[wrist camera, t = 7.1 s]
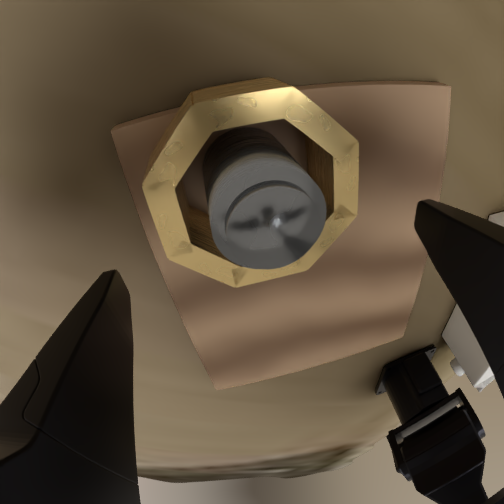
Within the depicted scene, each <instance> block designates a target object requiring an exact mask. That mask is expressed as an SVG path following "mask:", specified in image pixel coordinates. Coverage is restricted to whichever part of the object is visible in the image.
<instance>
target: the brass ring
mask: <svg viewBox="0 0 504 504" xmlns="http://www.w3.org/2000/svg"><path fill="white" fill-rule="evenodd" d="M278 119H286V120H287V121H288V122H290V123H291V124H292V125H294V126H295V127H296V128H298V129H299V130H300V131H302V132H303V133H304V134H305V146H306V159H307V173H308V175H309V176H310V177H311V178H312V179H313V181H314V182H315V183H316V184H317V185H318V187H319V188H320V190H321V191H322V193H323V196H324V198H325V202H326V210H327V211H326V220H325V225H324V228H323V230H322V232H321V234H320V236H319V238H318V239H317V241H316V242H315V244H314V245H313V246H312V247H311V248H310V250H309V251H308V252H307V253H306V254H305V255H304V256H302V257H301V258H300V259H298V260H297V261H295V262H293V263H291V264H289V265H287V266H284V267H281V268H276V269H251V268H246V267H242V266H240V265H237V264H235V263H233V262H232V261H230V260H229V259H227V258H226V257H225V256H224V255H223V254H222V253H221V252H220V251H219V249H218V248H217V246H216V244H215V242H214V240H213V237H212V232H211V226H210V219H209V215H208V214H206V213H204V212H202V211H200V210H198V209H196V208H194V207H192V206H190V205H189V203H188V200H187V196H186V192H185V189H184V185H183V182H182V176H183V175H184V173H185V172H186V170H187V169H188V167H189V166H190V164H191V163H192V161H193V160H194V158H195V157H196V155H197V154H198V152H199V151H200V149H201V148H202V146H203V145H204V143H205V142H206V141H207V139H208V138H209V136H210V135H211V133H212V132H214V131H219V130H224V129H228V128H233V127H238V126H244V125H249V124H254V123H260V122H266V121H272V120H278ZM358 182H359V142H358V141H357V140H356V139H355V138H354V137H353V136H352V135H351V134H350V133H349V132H348V131H347V130H345V129H344V128H343V127H342V126H341V125H340V124H339V123H337V122H336V121H335V120H334V119H333V118H332V117H331V116H329V115H328V114H327V113H326V112H325V111H324V110H322V109H321V108H320V107H319V106H318V105H316V104H315V103H314V102H313V101H311V100H310V99H309V98H308V97H306V96H305V95H304V94H303V93H301V92H300V91H299V90H298V89H296V88H295V87H293V86H291V85H288V84H286V83H283V82H281V81H278V80H276V79H273V78H270V77H266V78H259V79H253V80H246V81H240V82H234V83H229V84H223V85H218V86H213V87H208V88H204V89H199V90H195V91H192V92H190V94H189V95H188V97H187V98H186V100H185V101H184V103H183V104H182V106H181V107H180V109H179V110H178V112H177V113H176V115H175V116H174V118H173V119H172V121H171V122H170V124H169V125H168V127H167V129H166V130H165V132H164V133H163V135H162V137H161V138H160V140H159V141H158V143H157V145H156V146H155V148H154V150H153V151H152V153H151V155H150V158H149V162H148V165H147V168H146V172H145V175H144V179H143V183H142V189H143V192H144V195H145V198H146V201H147V204H148V206H149V209H150V212H151V215H152V218H153V221H154V223H155V226H156V229H157V232H158V234H159V237H160V240H161V243H162V245H163V248H164V251H165V253H166V256H167V258H169V260H171V261H173V262H175V263H178V264H180V265H182V266H185V267H187V268H189V269H192V270H194V271H196V272H199V273H201V274H203V275H206V276H208V277H210V278H213V279H215V280H217V281H220V282H222V283H225V284H227V285H229V286H232V287H234V288H235V287H236V288H237V287H241V286H246V285H250V284H254V283H258V282H262V281H267V280H271V279H275V278H279V277H283V276H287V275H291V274H295V273H299V272H303V271H307V270H308V269H309V268H310V267H311V266H312V265H313V264H314V263H315V262H316V261H317V260H318V259H319V258H320V257H321V255H322V254H323V253H324V252H325V251H326V250H327V249H328V248H329V247H330V246H331V245H332V243H333V242H334V241H335V240H336V239H337V238H338V237H339V236H340V235H341V234H342V232H343V231H344V230H345V229H346V228H347V227H348V226H349V225H350V224H351V222H352V221H353V220H354V219H355V218H356V217H357V216H356V215H357V211H358Z"/></svg>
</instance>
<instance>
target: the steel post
mask: <svg viewBox="0 0 504 504" xmlns="http://www.w3.org/2000/svg"><path fill="white" fill-rule="evenodd" d="M203 178H204V185H205V192H206V199H207V206H208V213H209V219H210V226H211V232H212V237H213V240H214V242H215V244H216V246H217V248H218V249H219V251H220V252H221V253H222V254H223V255H224V256H225V257H226V258H227V259H229V260H230V261H232V262H233V263H235V264H237V265H240V266H242V267H246V268H251V269H276V268H281V267H284V266H287V265H289V264H291V263H293V262H295V261H297V260H298V259H300V258H301V257H302V256H304V255H305V254H306V253H307V252H308V251H309V250H310V248H311V247H312V246H313V245H314V244H315V242H316V241H317V239H318V238H319V236H320V234H321V232H322V230H323V228H324V225H325V220H326V211H327V210H326V202H325V198H324V196H323V193H322V191H321V190H320V188H319V187H318V185H317V184H316V183H315V182H314V181H313V179H312V178H311V177H310V176H309V175H308V174H307V172H306V171H305V170H304V169H303V168H302V167H301V166H300V164H299V163H298V162H297V161H296V160H295V159H294V158H293V156H292V155H291V154H290V153H289V152H288V151H287V150H286V149H285V147H284V146H283V145H282V144H281V143H280V142H279V141H278V140H277V139H276V138H275V137H274V136H273V135H272V134H270V133H268V132H267V131H264V130H262V129H259V128H254V127H241V128H236V129H233V130H230V131H228V132H226V133H224V134H222V135H221V136H219V137H218V138H217V139H216V140H215V141H214V142H213V143H212V144H211V146H210V147H209V149H208V150H207V152H206V154H205V157H204V161H203Z"/></svg>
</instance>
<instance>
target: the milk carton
mask: <svg viewBox="0 0 504 504" xmlns="http://www.w3.org/2000/svg"><path fill="white" fill-rule="evenodd" d="M488 221H491V222H493V223H496V224H498V225H501V226H503V227H504V212H500V213H496V214H492V215H490V216H489V219H488ZM442 337H443V339H444V340H445V342H446V343H447V345H448V346H449V348H450V349H451V351H452V353H453V354H454V356H455V358H454V359H453V360H452V361H451V362H450V364H451V367H452V369H453V370H454V372H455V373H456V374H457V375H458V376H462V375H463V374H464V373H465V374H466V375H467V377H468V379H469V380H470V382H471V383H472V385H473V387H476V388H477V389H478V391H479V392H481V391H482V389H483V388H484V387H485V386H487V384H489V383H490V382H491V381H493V380H494V379H495V377H494V374H493V372H492V370H491V368H490V366H489V364H488V362H487V360H486V358H485V356H484V354H483V351H482V349H481V347H480V345H479V344H478V342H477V340H476V338H475V336H474V334H473V332H472V330H471V328H470V326H469V324H468V323H467V321H466V319H465V317H464V315H463V314H462V312H461V310H460V308H459V307H458V305H457V304H456V306H455V308H454V310H453V313H452V315H451V317H450V319H449V321H448V323H447V325H446V327H445V329H444V331H443V333H442Z"/></svg>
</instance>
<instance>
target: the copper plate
mask: <svg viewBox="0 0 504 504" xmlns="http://www.w3.org/2000/svg"><path fill="white" fill-rule="evenodd" d="M295 88H296V89H298V90H299V91H300V92H301V93H303V94H304V95H305V96H306V97H308V98H309V99H310V100H311V101H313V102H314V103H315V104H316V105H318V106H319V107H320V108H321V109H322V110H324V111H325V112H326V113H327V114H328V115H329V116H331V117H332V118H333V119H334V120H335V121H336V122H337V123H339V124H340V125H341V126H342V127H343V128H344V129H345V130H347V131H348V132H349V133H350V134H351V135H352V136H353V137H354V138H355V139H356V140H357V141H358V142H359V182H358V211H357V215H356V216H357V217H356V218H355V219H354V220H353V221H352V222H351V224H350V225H349V226H348V227H347V228H346V229H345V230H344V231H343V232H342V234H341V235H340V236H339V237H338V238H337V239H336V240H335V241H334V242H333V243H332V245H331V246H330V247H329V248H328V249H327V250H326V251H325V252H324V253H323V254H322V255H321V257H320V258H319V259H318V260H317V261H316V262H315V263H314V264H313V265H312V266H311V267H310V268H309V269H308V270H307V271H303V272H299V273H295V274H291V275H287V276H283V277H279V278H275V279H271V280H267V281H262V282H258V283H254V284H250V285H246V286H241V287H237V288H236V287H235V288H234V287H232V286H229V285H227V284H225V283H222V282H220V281H217V280H215V279H213V278H210V277H208V276H206V275H203V274H201V273H199V272H196V271H194V270H192V269H189V268H187V267H185V266H182V265H180V264H178V263H175V262H173V261H171V260H169V258H167V256H166V253H165V251H164V248H163V245H162V243H161V240H160V237H159V234H158V232H157V229H156V226H155V223H154V221H153V218H152V215H151V212H150V209H149V206H148V204H147V201H146V198H145V195H144V192H143V189H142V183H143V179H144V175H145V172H146V168H147V165H148V162H149V158H150V155H151V153H152V151H153V150H154V148H155V146H156V145H157V143H158V141H159V140H160V138H161V137H162V135H163V133H164V132H165V130H166V129H167V127H168V125H169V124H170V122H171V121H172V119H173V118H174V116H175V115H176V113H177V112H178V110H179V109H180V107H178V108H174V109H170V110H166V111H162V112H158V113H155V114H151V115H147V116H144V117H140V118H137V119H134V120H130V121H127V122H124V123H121V124H118V125H115V126H114V127H113V129H112V130H111V131H110V132H111V135H112V138H113V141H114V145H115V148H116V151H117V154H118V157H119V160H120V163H121V166H122V169H123V172H124V175H125V178H126V181H127V184H128V187H129V190H130V193H131V195H132V198H133V201H134V204H135V207H136V209H137V212H138V215H139V217H140V220H141V223H142V225H143V228H144V231H145V233H146V236H147V238H148V241H149V244H150V246H151V249H152V251H153V254H154V256H155V259H156V261H157V263H158V266H159V268H160V271H161V273H162V275H163V278H164V280H165V283H166V285H167V287H168V290H169V292H170V294H171V296H172V299H173V301H174V303H175V305H176V308H177V310H178V312H179V314H180V317H181V319H182V321H183V323H184V325H185V327H186V330H187V332H188V334H189V336H190V338H191V340H192V342H193V344H194V347H195V349H196V351H197V353H198V355H199V357H200V359H201V361H202V363H203V365H204V367H205V369H206V371H207V373H208V375H209V377H210V379H211V381H212V383H213V385H214V387H215V388H216V390H220V389H225V388H230V387H235V386H240V385H244V384H249V383H253V382H258V381H262V380H266V379H270V378H274V377H278V376H282V375H286V374H290V373H293V372H297V371H301V370H304V369H308V368H311V367H315V366H318V365H322V364H325V363H328V362H332V361H335V360H338V359H341V358H344V357H348V356H351V355H354V354H357V353H360V352H363V351H366V350H369V349H371V348H374V347H377V346H380V345H383V344H385V343H388V342H391V341H394V340H396V339H399V338H402V337H403V335H404V333H405V330H406V327H407V324H408V321H409V318H410V315H411V312H412V309H413V305H414V302H415V299H416V296H417V292H418V289H419V285H420V282H421V278H422V275H423V271H424V267H425V263H426V259H427V255H428V253H427V251H426V249H425V247H424V245H423V244H422V242H421V240H420V238H419V236H418V235H417V233H416V231H415V228H414V220H415V214H416V208H417V204H418V202H419V201H421V200H425V199H432V200H435V201H438V202H439V199H440V193H441V187H442V180H443V174H444V166H445V159H446V150H447V141H448V130H449V117H450V99H451V86H448V85H445V84H442V83H439V82H421V81H362V82H341V83H326V84H314V85H304V86H295ZM241 127H254V128H259V129H262V130H264V131H267V132H268V133H270V134H272V135H273V136H274V137H275V138H276V139H277V140H278V141H279V142H280V143H281V144H282V145H283V146H284V147H285V149H286V150H287V151H288V152H289V153H290V154H291V155H292V156H293V158H294V159H295V160H296V161H297V162H298V163H299V164H300V166H301V167H302V168H303V169H304V170H305V171H306V172H307V159H306V146H305V134H304V133H303V132H302V131H300V130H299V129H298V128H296V127H295V126H294V125H292V124H291V123H290V122H288V121H287V120H286V119H278V120H272V121H266V122H260V123H254V124H249V125H244V126H238V127H233V128H228V129H224V130H219V131H214V132H212V133H211V135H210V136H209V138H208V139H207V141H206V142H205V143H204V145H203V146H202V148H201V149H200V151H199V152H198V154H197V155H196V157H195V158H194V160H193V161H192V163H191V164H190V166H189V167H188V169H187V170H186V172H185V173H184V175H183V176H182V182H183V185H184V189H185V192H186V196H187V200H188V203H189V205H190V206H192V207H194V208H196V209H198V210H200V211H202V212H204V213H206V214H208V215H209V213H208V206H207V199H206V192H205V185H204V178H203V161H204V157H205V154H206V152H207V150H208V149H209V147H210V146H211V144H212V143H213V142H214V141H215V140H216V139H217V138H218V137H219V136H221V135H222V134H224V133H226V132H228V131H230V130H233V129H236V128H241ZM307 174H308V173H307Z"/></svg>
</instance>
